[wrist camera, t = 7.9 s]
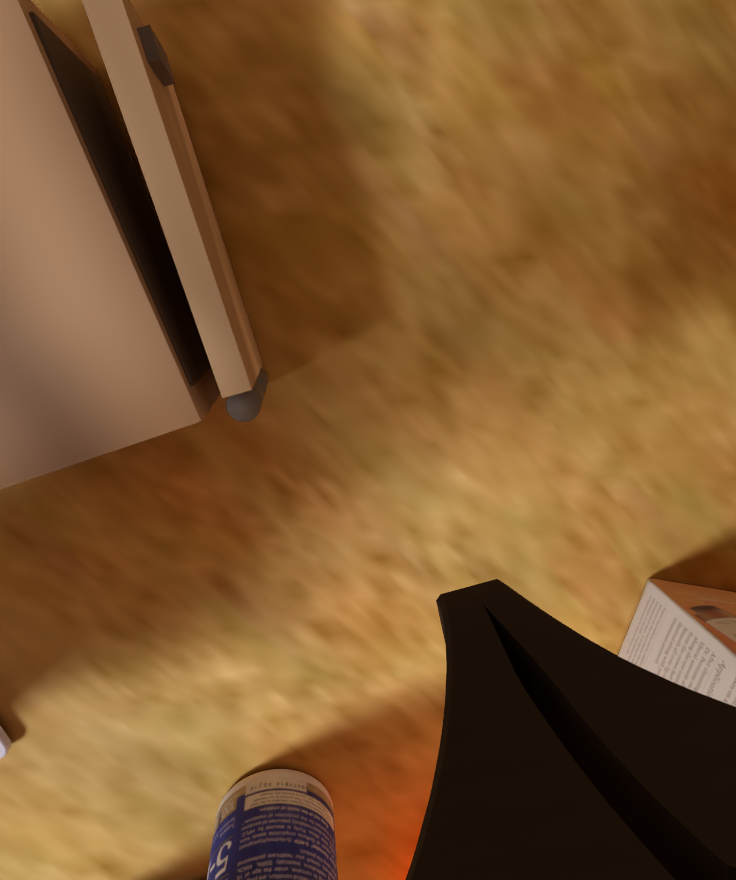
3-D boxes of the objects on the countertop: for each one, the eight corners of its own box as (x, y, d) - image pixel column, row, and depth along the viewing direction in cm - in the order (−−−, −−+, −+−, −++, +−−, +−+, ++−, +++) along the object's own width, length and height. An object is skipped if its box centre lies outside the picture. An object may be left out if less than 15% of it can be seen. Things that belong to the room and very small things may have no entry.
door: (246, 394, 19) (231, 428, 14) (136, 67, 16) (73, -16, 11) (278, 385, 19) (272, 416, 14) (175, 58, 16) (128, -28, 11)
